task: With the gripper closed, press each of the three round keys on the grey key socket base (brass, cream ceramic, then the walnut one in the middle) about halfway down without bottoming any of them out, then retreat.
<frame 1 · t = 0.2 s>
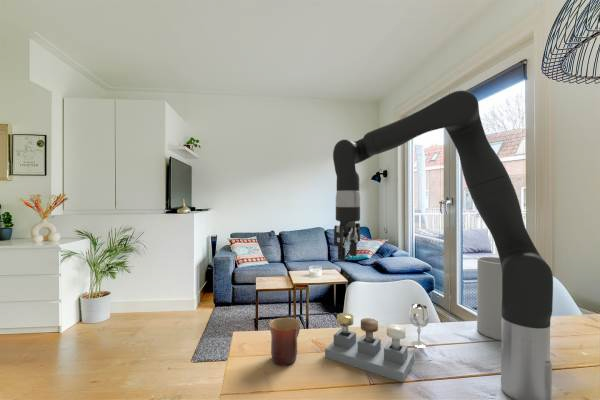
hand: (347, 257, 95), 27 cm above the table, fingers open, 8 cm apart
cream key: (395, 338, 83), point 8 cm above the table, slide at 0.0 cm
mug: (287, 358, 88), on the table
cylinder vase: (498, 334, 104), on the table
wineglass: (418, 345, 96), on the table
walnut key: (369, 332, 87), point 8 cm above the table, slide at 0.0 cm
grey key socket base: (369, 359, 87), on the table
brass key: (345, 326, 91), point 8 cm above the table, slide at 0.0 cm
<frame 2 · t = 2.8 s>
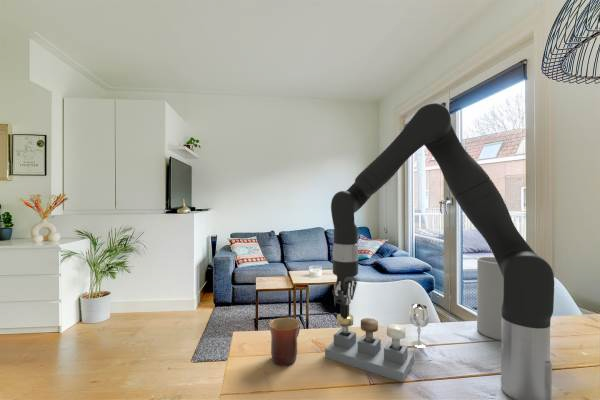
hand: (344, 316, 91), 11 cm above the table, fingers closed
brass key: (345, 326, 91), point 8 cm above the table, slide at 0.2 cm, touching gripper
everything else where it was.
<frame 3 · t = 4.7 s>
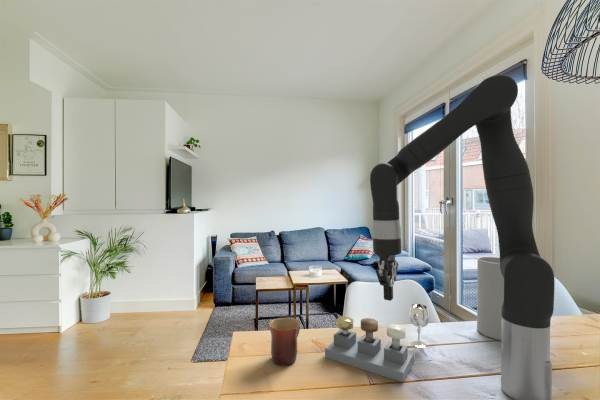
hand: (388, 299, 84), 18 cm above the table, fingers closed
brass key: (345, 329, 91), point 7 cm above the table, slide at 1.1 cm
everything else where it was.
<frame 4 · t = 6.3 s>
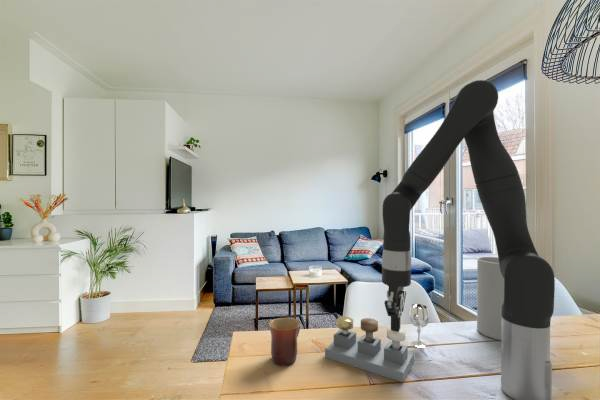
hand: (395, 329, 83), 10 cm above the table, fingers closed
cream key: (395, 341, 83), point 7 cm above the table, slide at 0.7 cm, touching gripper
everything else where it was.
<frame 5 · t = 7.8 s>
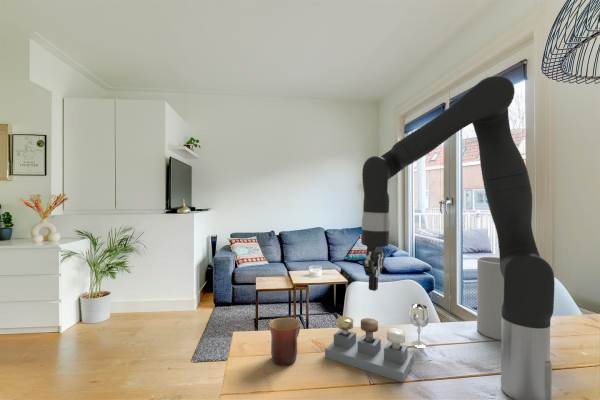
hand: (373, 289, 86), 20 cm above the table, fingers closed
cream key: (395, 343, 83), point 7 cm above the table, slide at 1.2 cm
everything else where it was.
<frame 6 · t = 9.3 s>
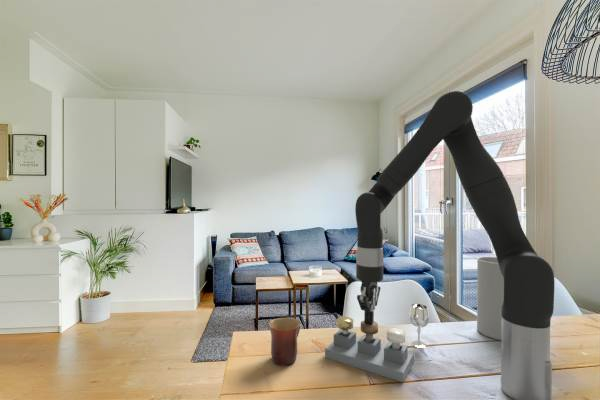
hand: (369, 323, 87), 10 cm above the table, fingers closed
walnut key: (369, 334, 87), point 7 cm above the table, slide at 0.6 cm, touching gripper
everything else where it was.
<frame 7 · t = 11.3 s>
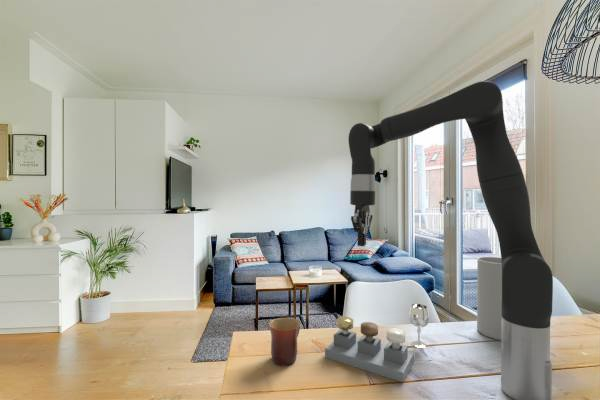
hand: (361, 245, 95), 31 cm above the table, fingers closed
walnut key: (369, 336, 87), point 7 cm above the table, slide at 1.1 cm
everything else where it was.
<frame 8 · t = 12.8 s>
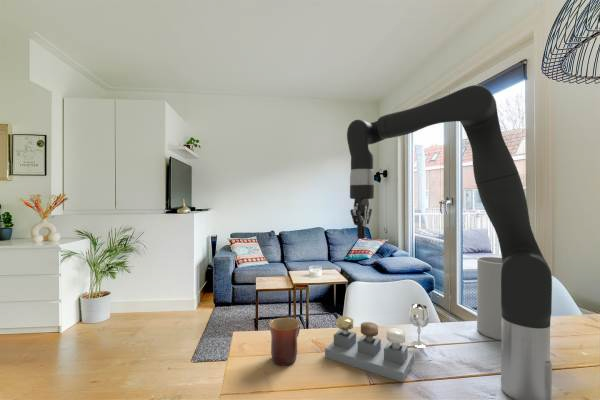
hand: (361, 238, 98), 33 cm above the table, fingers closed
nothing on the table moved.
at the end: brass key slide at 1.1 cm; cream key slide at 1.2 cm; walnut key slide at 1.1 cm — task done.
